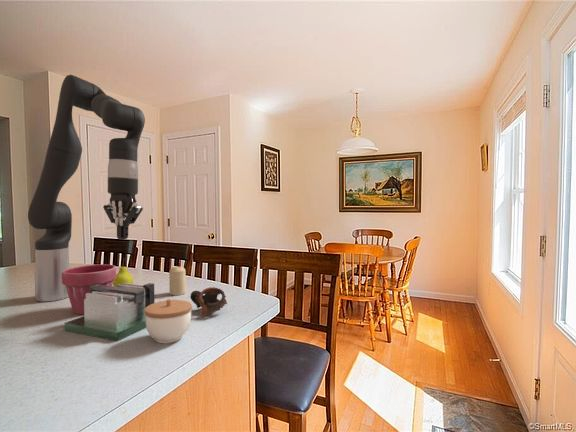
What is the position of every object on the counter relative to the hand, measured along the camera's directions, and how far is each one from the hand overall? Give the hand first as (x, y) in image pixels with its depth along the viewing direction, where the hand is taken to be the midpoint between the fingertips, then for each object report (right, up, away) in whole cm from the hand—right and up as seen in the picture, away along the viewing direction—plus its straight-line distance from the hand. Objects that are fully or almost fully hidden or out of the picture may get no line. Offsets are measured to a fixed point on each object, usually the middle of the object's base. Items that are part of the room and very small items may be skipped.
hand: (122, 238), depth 89 cm
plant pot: (-14, -23, +8) cm, 28 cm away
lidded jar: (+18, -23, -12) cm, 32 cm away
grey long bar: (0, -16, -4) cm, 16 cm away
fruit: (-16, -22, +30) cm, 41 cm away
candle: (+6, -22, +26) cm, 35 cm away
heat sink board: (0, -23, -4) cm, 23 cm away
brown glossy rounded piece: (+22, -23, +7) cm, 33 cm away
